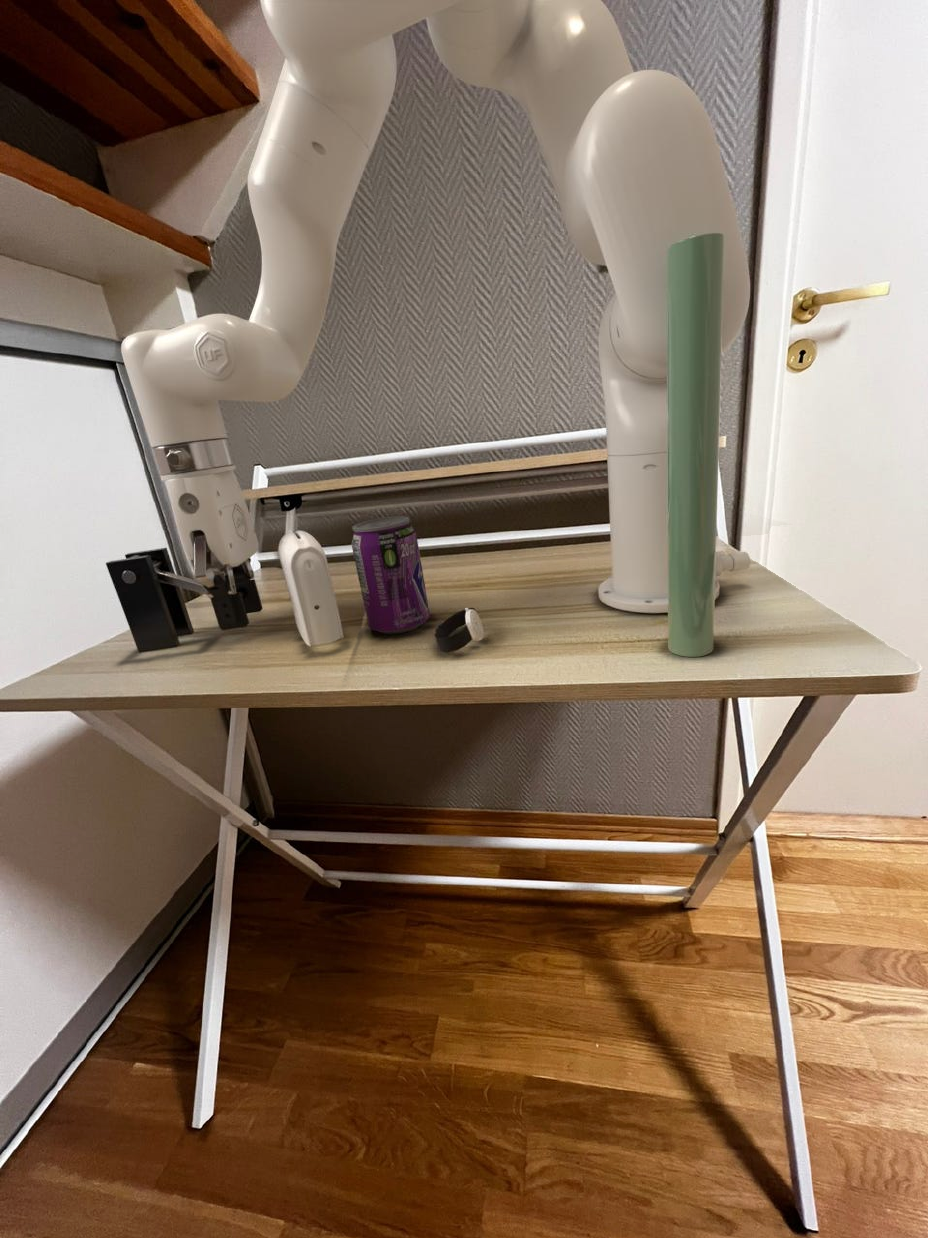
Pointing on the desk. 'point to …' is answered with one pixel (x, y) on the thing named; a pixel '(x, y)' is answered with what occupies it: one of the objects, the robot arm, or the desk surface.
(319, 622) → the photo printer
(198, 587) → the lever
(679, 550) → the tall green cylinder
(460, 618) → the watch
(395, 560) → the beverage can
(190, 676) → the desk surface
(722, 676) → the desk surface
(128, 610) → the bracket
